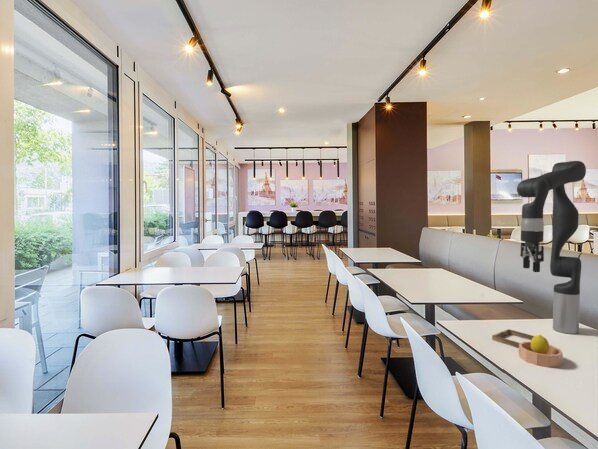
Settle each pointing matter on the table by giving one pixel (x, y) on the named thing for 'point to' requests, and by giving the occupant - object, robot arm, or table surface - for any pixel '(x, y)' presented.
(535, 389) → the table surface
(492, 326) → the table surface
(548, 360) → the bowl
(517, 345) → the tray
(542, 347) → the lemon
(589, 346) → the table surface
